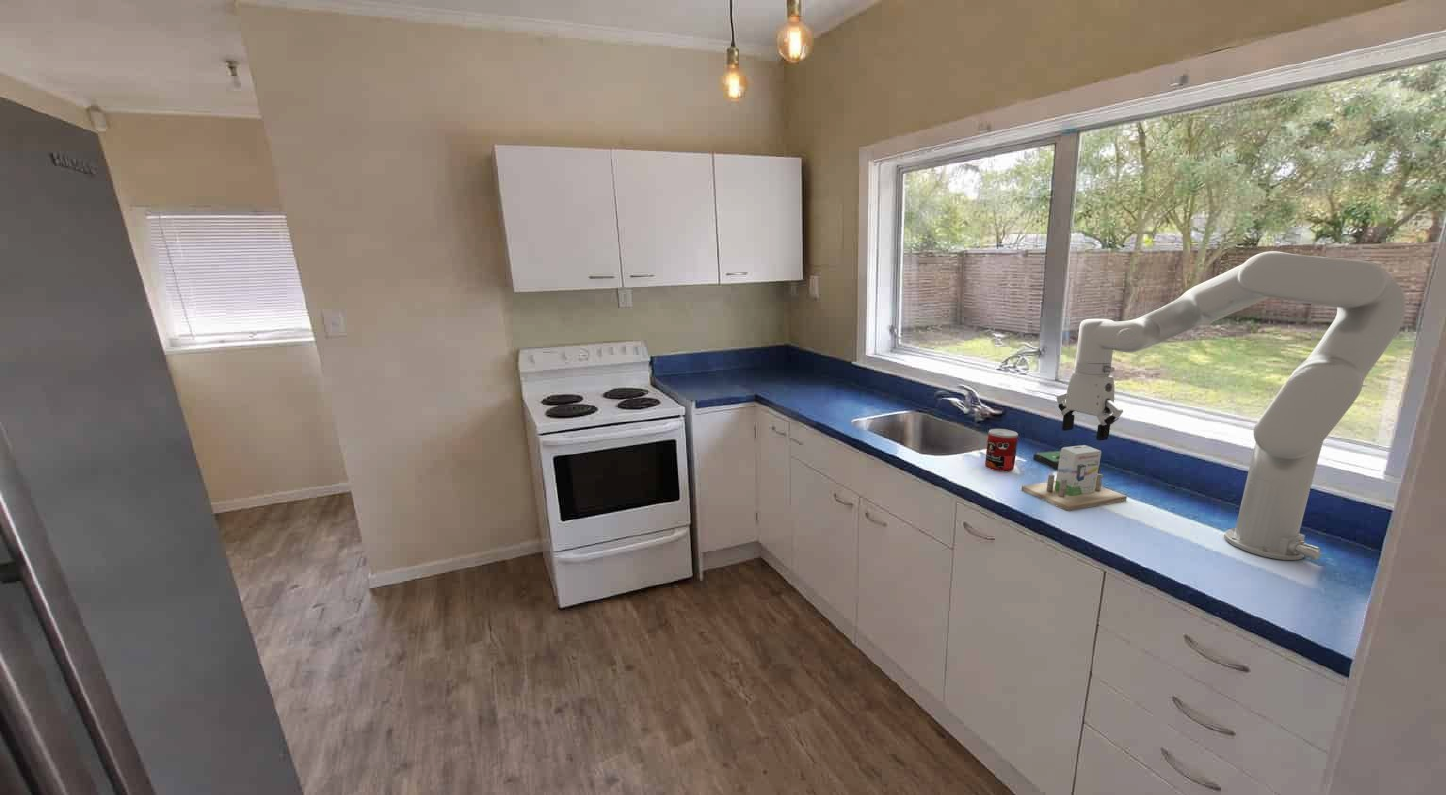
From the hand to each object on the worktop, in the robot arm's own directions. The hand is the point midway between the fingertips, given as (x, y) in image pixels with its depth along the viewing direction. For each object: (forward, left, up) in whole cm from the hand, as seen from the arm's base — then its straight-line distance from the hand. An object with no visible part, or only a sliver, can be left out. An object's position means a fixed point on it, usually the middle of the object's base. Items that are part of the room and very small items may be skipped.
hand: (1084, 434), depth 144 cm
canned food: (+23, +2, -17) cm, 29 cm away
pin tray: (0, 0, -17) cm, 17 cm away
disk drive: (+18, -18, -18) cm, 31 cm away
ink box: (0, 0, -16) cm, 16 cm away
